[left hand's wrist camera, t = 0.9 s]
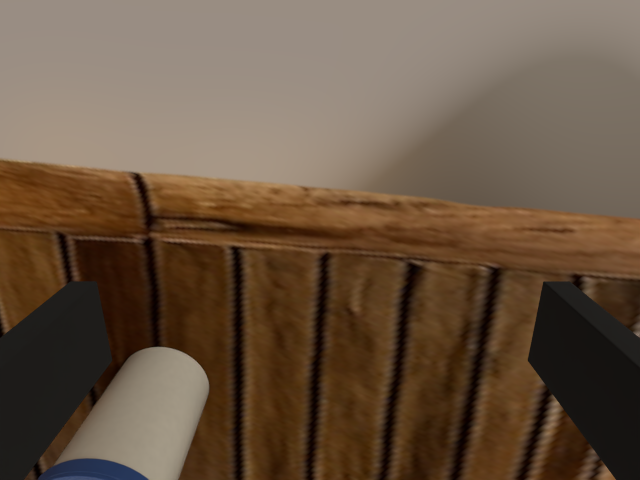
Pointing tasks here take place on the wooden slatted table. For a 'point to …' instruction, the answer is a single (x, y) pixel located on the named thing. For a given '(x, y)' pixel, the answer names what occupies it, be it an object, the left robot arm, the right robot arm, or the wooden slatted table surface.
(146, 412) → the jar
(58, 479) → the lid
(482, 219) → the wooden slatted table surface
